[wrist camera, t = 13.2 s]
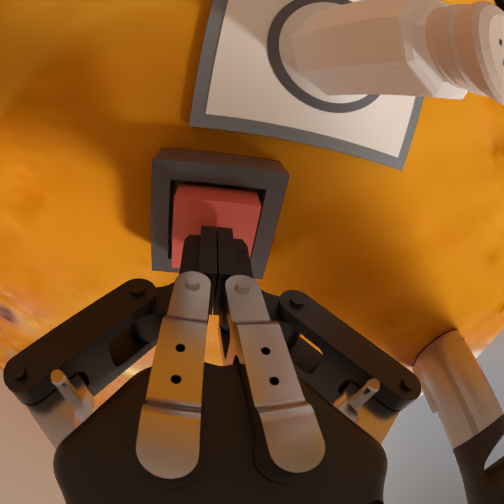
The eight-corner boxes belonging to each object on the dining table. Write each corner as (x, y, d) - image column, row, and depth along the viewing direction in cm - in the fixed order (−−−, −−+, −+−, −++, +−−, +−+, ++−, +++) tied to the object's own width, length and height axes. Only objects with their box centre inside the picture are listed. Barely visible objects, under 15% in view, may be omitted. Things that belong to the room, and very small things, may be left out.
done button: (243, 254, 17) (246, 273, 16) (175, 249, 16) (171, 267, 15) (256, 191, 15) (261, 206, 13) (178, 183, 14) (174, 197, 12)
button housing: (257, 256, 20) (262, 279, 18) (158, 247, 18) (152, 270, 16) (279, 161, 16) (289, 174, 14) (161, 147, 14) (152, 159, 12)
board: (397, 167, 17) (404, 172, 16) (190, 124, 14) (188, 127, 13) (431, 24, 10) (440, 23, 9) (228, -52, 7) (229, -58, 7)
